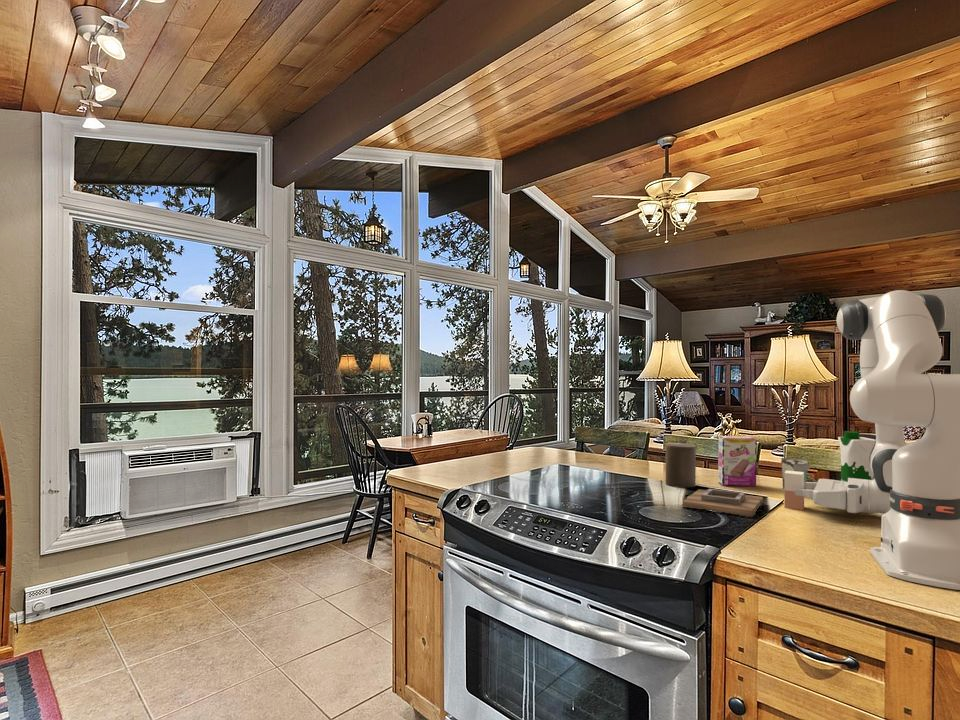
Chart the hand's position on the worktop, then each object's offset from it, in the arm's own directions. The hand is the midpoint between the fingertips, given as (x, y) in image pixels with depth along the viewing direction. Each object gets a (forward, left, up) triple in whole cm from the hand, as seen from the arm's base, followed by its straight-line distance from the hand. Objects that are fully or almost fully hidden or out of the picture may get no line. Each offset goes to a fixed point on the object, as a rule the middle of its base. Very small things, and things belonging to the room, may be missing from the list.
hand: (796, 488), depth 155 cm
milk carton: (+26, -14, -6) cm, 30 cm away
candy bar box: (+22, +20, -6) cm, 30 cm away
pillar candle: (+12, +36, -6) cm, 38 cm away
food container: (+22, +2, -6) cm, 23 cm away
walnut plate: (-10, +18, -6) cm, 21 cm away
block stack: (0, +1, -6) cm, 6 cm away
